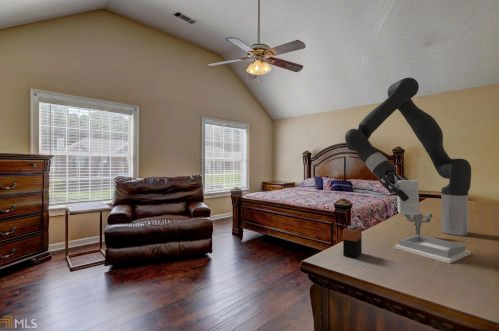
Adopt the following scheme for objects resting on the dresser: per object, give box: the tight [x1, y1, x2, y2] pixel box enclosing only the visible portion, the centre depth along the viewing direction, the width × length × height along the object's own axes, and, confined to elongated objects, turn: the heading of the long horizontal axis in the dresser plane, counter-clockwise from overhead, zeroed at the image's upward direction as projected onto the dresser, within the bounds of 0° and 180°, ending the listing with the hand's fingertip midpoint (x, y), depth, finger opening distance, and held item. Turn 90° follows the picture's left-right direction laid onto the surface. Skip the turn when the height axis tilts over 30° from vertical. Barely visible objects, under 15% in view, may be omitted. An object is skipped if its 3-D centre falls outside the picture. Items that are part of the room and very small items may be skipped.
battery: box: [342, 223, 363, 259], centre depth 86 cm, size 4×7×10 cm, turn 141°
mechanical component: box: [403, 212, 433, 235], centre depth 108 cm, size 3×10×10 cm, turn 79°
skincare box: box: [396, 179, 420, 215], centre depth 91 cm, size 6×4×12 cm
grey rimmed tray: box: [393, 234, 472, 264], centre depth 89 cm, size 16×17×3 cm
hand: (412, 198), depth 90 cm, fingers closed on skincare box, 7 cm apart
